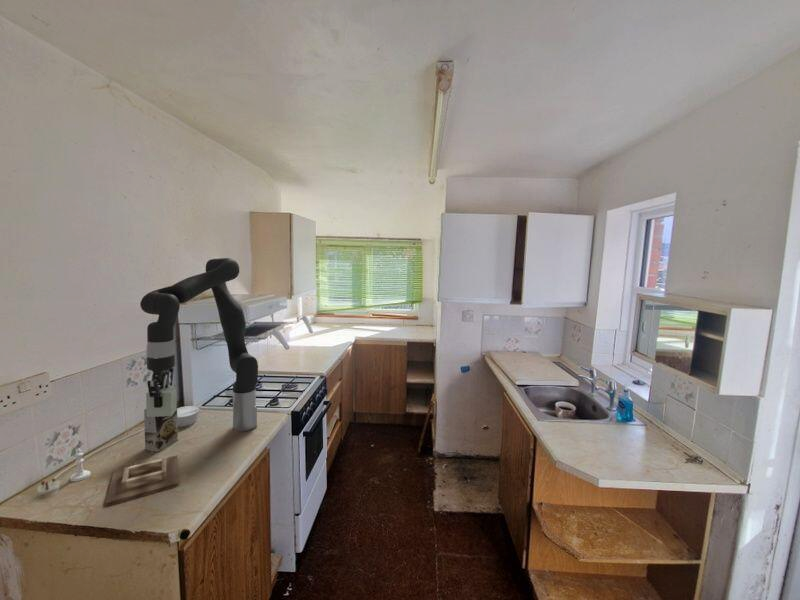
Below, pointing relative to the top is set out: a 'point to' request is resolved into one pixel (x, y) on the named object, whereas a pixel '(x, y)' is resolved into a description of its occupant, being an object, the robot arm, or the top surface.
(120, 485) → the board
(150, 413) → the key block
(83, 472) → the chess piece
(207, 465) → the top surface
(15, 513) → the top surface
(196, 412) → the ramekin
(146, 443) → the coffee box
